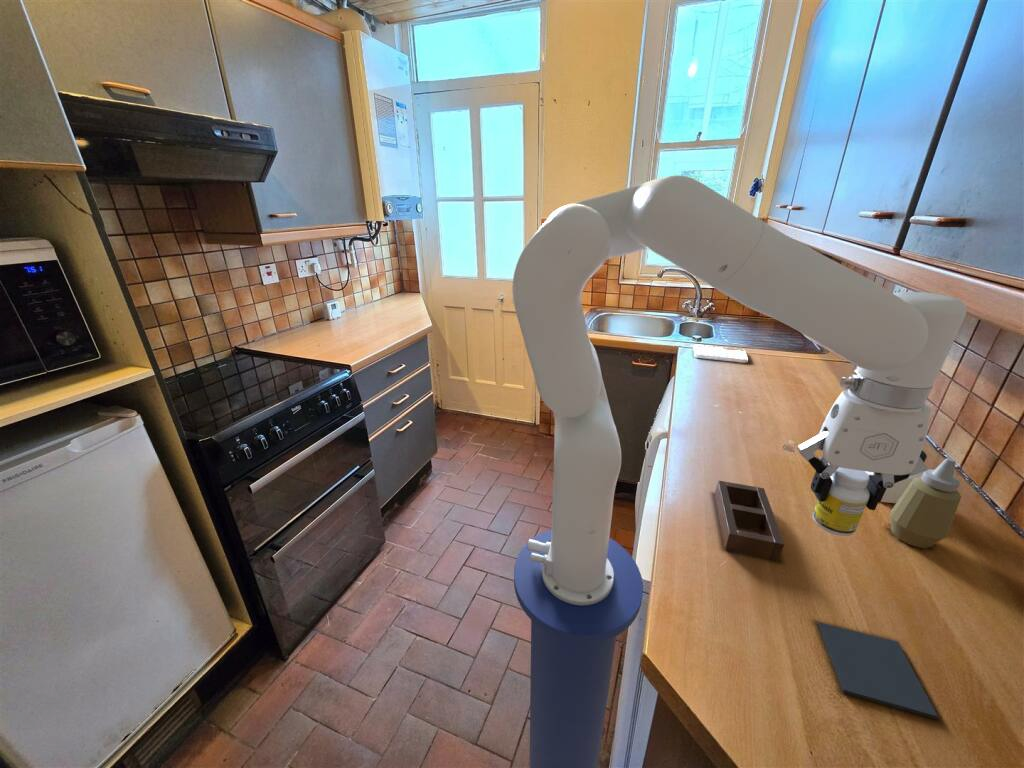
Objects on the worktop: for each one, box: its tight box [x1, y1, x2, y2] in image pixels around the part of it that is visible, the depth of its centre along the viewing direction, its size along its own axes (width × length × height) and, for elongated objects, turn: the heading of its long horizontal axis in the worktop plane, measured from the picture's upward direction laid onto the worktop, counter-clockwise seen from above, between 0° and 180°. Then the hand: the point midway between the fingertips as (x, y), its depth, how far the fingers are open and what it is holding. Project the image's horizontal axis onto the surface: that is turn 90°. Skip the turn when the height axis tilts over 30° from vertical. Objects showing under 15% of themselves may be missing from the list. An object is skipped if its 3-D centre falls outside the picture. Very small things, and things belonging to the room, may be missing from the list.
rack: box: [714, 480, 785, 562], centre depth 81 cm, size 9×16×4 cm, turn 162°
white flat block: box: [693, 344, 749, 364], centre depth 170 cm, size 13×20×2 cm, turn 69°
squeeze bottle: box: [889, 457, 962, 549], centre depth 75 cm, size 8×8×18 cm
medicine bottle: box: [865, 449, 928, 504], centre depth 87 cm, size 7×7×12 cm
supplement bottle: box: [812, 467, 870, 537], centre depth 60 cm, size 5×5×10 cm
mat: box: [817, 622, 939, 720], centre depth 57 cm, size 10×10×1 cm
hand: (842, 498), depth 60 cm, fingers closed on supplement bottle, 5 cm apart
